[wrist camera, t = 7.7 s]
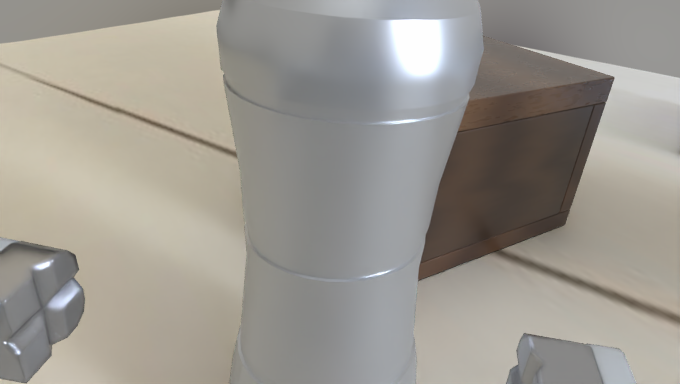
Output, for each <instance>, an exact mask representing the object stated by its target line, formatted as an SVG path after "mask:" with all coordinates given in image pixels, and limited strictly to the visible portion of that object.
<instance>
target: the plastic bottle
mask: <svg viewBox="0 0 680 384" xmlns="http://www.w3.org/2000/svg"><path fill="white" fill-rule="evenodd" d="M217 38H218V46H219V55H220V66H221V70H222V71H223V72H224V75H223V81H224V87H225V93H226V98H227V104H228V109H229V115H230V120H231V125H232V131H233V136H234V142H235V147H236V153H237V158H238V163H239V169H240V177H241V189H242V202H243V214H244V221H245V239H246V251H247V255H246V267H245V280H244V292H243V304H242V316H241V326H240V329H239V333H238V337H237V340H236V345H235V349H234V354H233V360H232V367H231V375H230V382H229V383H230V384H416V363H417V357H416V347H415V339H414V323H415V311H416V298H417V285H418V273H419V265H420V261H421V257H422V253H423V249H424V245H425V236H426V233H427V230H428V228H429V225H430V220H431V216H432V212H433V208H434V204H435V200H436V195H437V191H438V187H439V183H440V180H441V178H442V175H443V172H444V169H445V166H446V163H447V160H448V158H449V155H450V152H451V149H452V146H453V143H454V140H455V138H456V135H457V132H458V129H459V126H460V123H461V121H462V118H463V115H464V112H465V109H466V106H467V103H468V101H469V98H470V97H469V92H470V91H471V89H472V88H473V86H474V84H475V80H476V77H477V73H478V69H479V65H480V61H481V58H482V54H483V51H484V45H483V32H482V19H481V8H480V5H479V2H478V0H223V1H222V6H221V9H220V13H219V17H218V22H217Z"/></svg>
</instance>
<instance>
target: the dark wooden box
mask: <svg viewBox="0 0 680 384" xmlns="http://www.w3.org/2000/svg"><path fill="white" fill-rule="evenodd" d="M483 45H484V51H483V54H482V58H481V61H480V65H479V69H478V73H477V77H476V80H475V84H474V86H473V88H472V89H471V91H470V92H469V97H470V98H469V101H468V103H467V106H466V109H465V112H464V115H463V118H462V121H461V123H460V126H459V129H458V132H457V135H456V138H455V140H454V143H453V146H452V149H451V152H450V155H449V158H448V160H447V163H446V166H445V169H444V172H443V175H442V178H441V180H440V183H439V187H438V191H437V195H436V200H435V204H434V208H433V212H432V216H431V220H430V225H429V228H428V230H427V233H426V236H425V245H424V249H423V253H422V257H421V261H420V265H419V273H418V280H421V279H423V278H426V277H428V276H431V275H434V274H436V273H439V272H442V271H444V270H447V269H450V268H452V267H455V266H457V265H460V264H463V263H465V262H468V261H471V260H473V259H476V258H478V257H481V256H484V255H486V254H489V253H492V252H494V251H497V250H499V249H502V248H505V247H507V246H510V245H513V244H515V243H518V242H521V241H523V240H526V239H528V238H531V237H534V236H536V235H539V234H542V233H544V232H547V231H549V230H552V229H555V228H557V227H560V226H563V225H565V223H566V220H567V217H568V214H569V211H570V208H571V205H572V202H573V199H574V196H575V193H576V190H577V187H578V184H579V181H580V178H581V175H582V172H583V169H584V166H585V164H586V161H587V158H588V155H589V152H590V149H591V146H592V143H593V140H594V137H595V134H596V131H597V128H598V125H599V122H600V119H601V116H602V113H603V110H604V107H605V104H606V103H605V102H606V101H607V99H608V96H609V93H610V90H611V87H612V84H613V81H614V77H613V76H610V75H606V74H603V73H600V72H597V71H594V70H591V69H587V68H584V67H581V66H578V65H575V64H571V63H568V62H565V61H562V60H559V59H555V58H552V57H549V56H546V55H543V54H540V53H536V52H533V51H530V50H527V49H524V48H520V47H517V46H514V45H511V44H508V43H504V42H501V41H498V40H495V39H492V38H489V37H485V36H483Z"/></svg>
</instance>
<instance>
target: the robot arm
mask: <svg viewBox="0 0 680 384" xmlns="http://www.w3.org/2000/svg"><path fill="white" fill-rule="evenodd" d="M78 270H79V267H78V263H77V259H76V255H75V254H73V253H71V252H69V251H67V250H63V249H58V248H53V247H48V246H43V245H38V244H34V243H29V242H24V241H16V240H12V239H7V238H2V237H0V379H4V380H10V381H15V382H21V383H27V382H28V381H29V380H30V379H31V378H32V377H33V375H34V374H35V373H36V372H37V371H38V370H39V369H40V368H41V367H42V365H43V364H44V363H45V362H46V361H47V360H48V359H49V358H50V357H51V356H52V345H53V344H55V343H57V342H59V341H61V340H63V339H65V338H68V336H69V335H70V334H71V333H72V332H73V331H74V329H75V328H76V327H77V326H78V323H79V321H80V319H81V316H82V314H83V312H84V304H85V297H84V291H83V288H82V287H81V286H80V284H79V283H78V282H77V281H76V280H75V279H74V276H75V275H76V273H77V272H78ZM516 351H517V358H518V365H517V366H515V367H513V368H512V369H510V372H509V375H508V379H507V382H506V384H636V381H635V379H634V376H633V374H632V371H631V369H630V366H629V364H628V362H627V359H626V357H625V354H624V353H623V352H622V351H621V350H620V349H619V348H612V347H606V346H600V345H594V344H583V343H578V342H572V341H566V340H561V339H555V338H549V337H543V336H538V335H532V334H526V333H524V334H523V336H522V337H521V339H520V341H519V344H518V347H517V350H516Z"/></svg>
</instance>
